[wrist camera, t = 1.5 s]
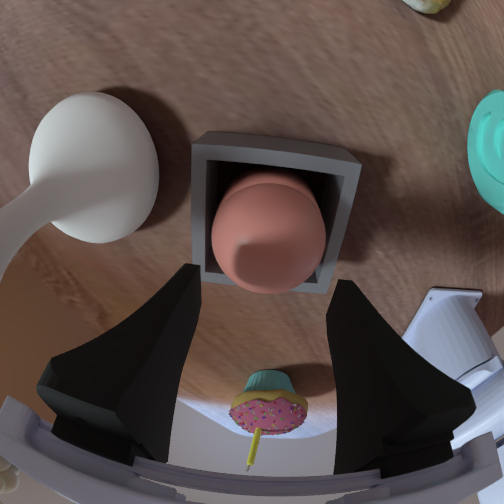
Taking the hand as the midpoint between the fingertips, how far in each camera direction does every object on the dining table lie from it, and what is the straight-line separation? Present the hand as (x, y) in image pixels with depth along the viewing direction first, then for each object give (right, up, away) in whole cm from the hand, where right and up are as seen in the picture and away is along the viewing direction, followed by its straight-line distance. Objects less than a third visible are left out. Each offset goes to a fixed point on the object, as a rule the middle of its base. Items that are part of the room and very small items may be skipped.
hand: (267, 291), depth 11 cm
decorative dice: (+19, +10, +3) cm, 22 cm away
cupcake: (+2, -13, +20) cm, 24 cm away
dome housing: (+1, +5, +8) cm, 9 cm away
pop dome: (0, +4, +6) cm, 7 cm away
